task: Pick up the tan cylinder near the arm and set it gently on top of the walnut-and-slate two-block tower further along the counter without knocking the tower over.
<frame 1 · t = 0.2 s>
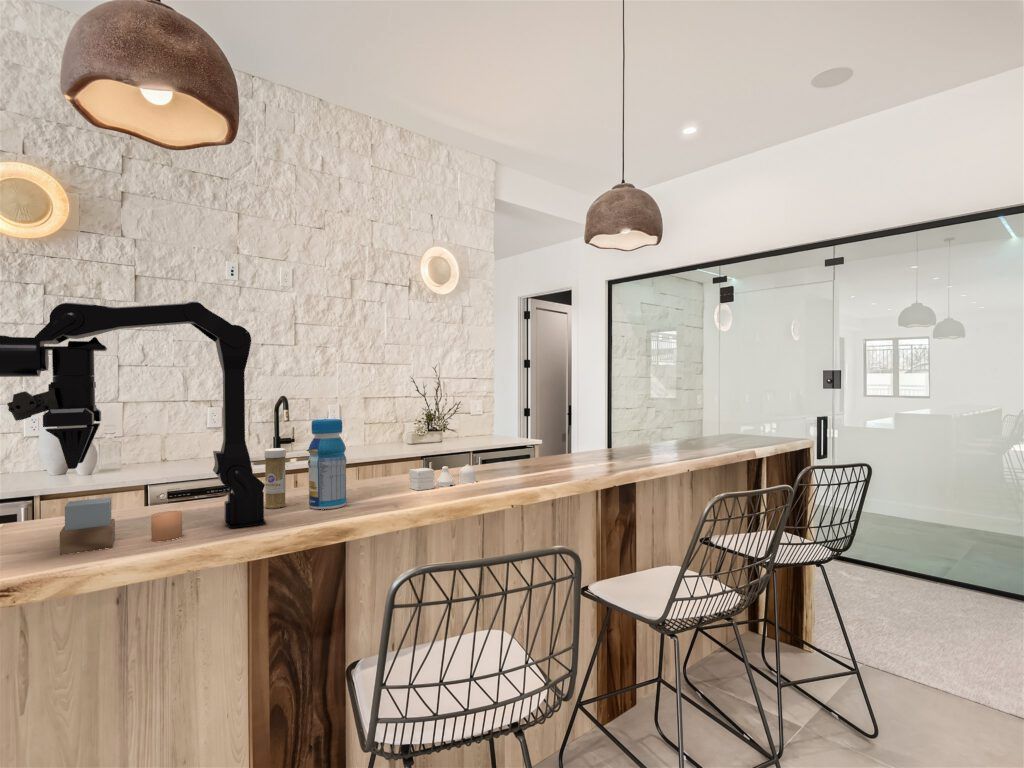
hand: (75, 465, 95), 14 cm above the countertop, tool pointing down, fingers open, 9 cm apart
tan cylinder: (166, 538, 100), on the countertop
tower top: (89, 524, 95), point 4 cm above the countertop, touching tower base
beverage bottle: (327, 507, 125), on the countertop
sprinkles bottle: (275, 507, 126), on the countertop
tower base: (88, 548, 95), on the countertop, touching tower top
container set: (445, 486, 151), on the countertop
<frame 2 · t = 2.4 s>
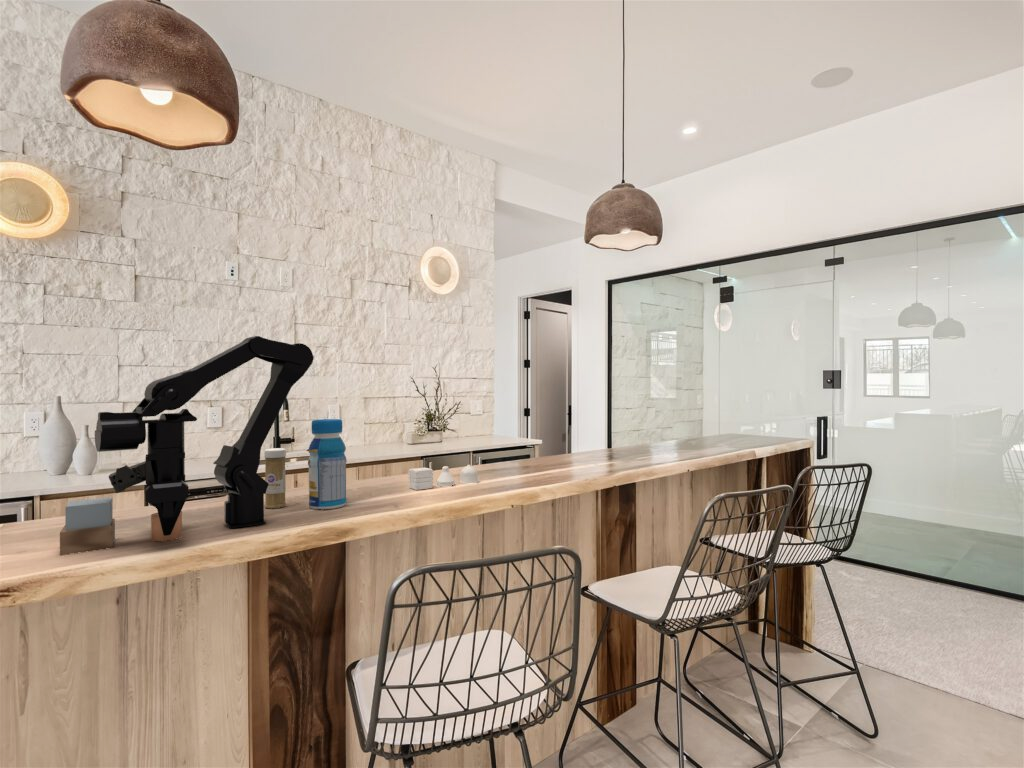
hand: (166, 532, 100), 1 cm above the countertop, tool pointing down, fingers closed on tan cylinder, 5 cm apart
tan cylinder: (166, 537, 100), on the countertop, touching gripper
everything else where it was.
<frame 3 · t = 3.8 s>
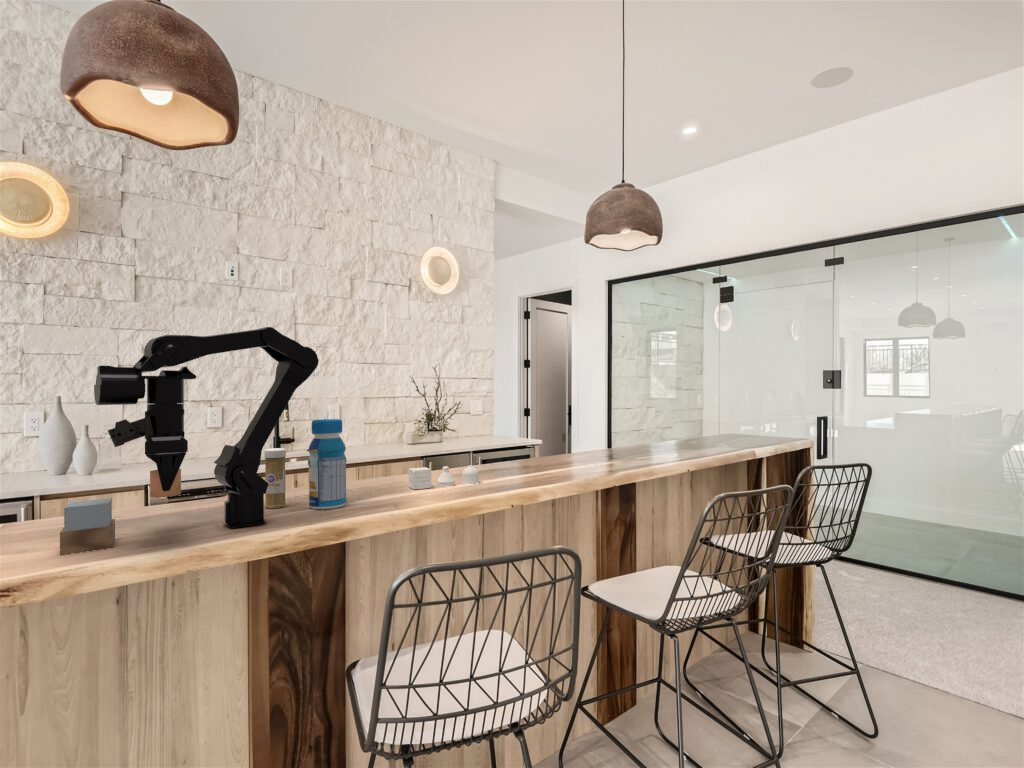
hand: (165, 488, 100), 9 cm above the countertop, tool pointing down, fingers closed on tan cylinder, 5 cm apart
tan cylinder: (165, 494, 100), point 8 cm above the countertop, touching gripper
tower top: (89, 525, 94), point 4 cm above the countertop
tower base: (88, 548, 94), on the countertop
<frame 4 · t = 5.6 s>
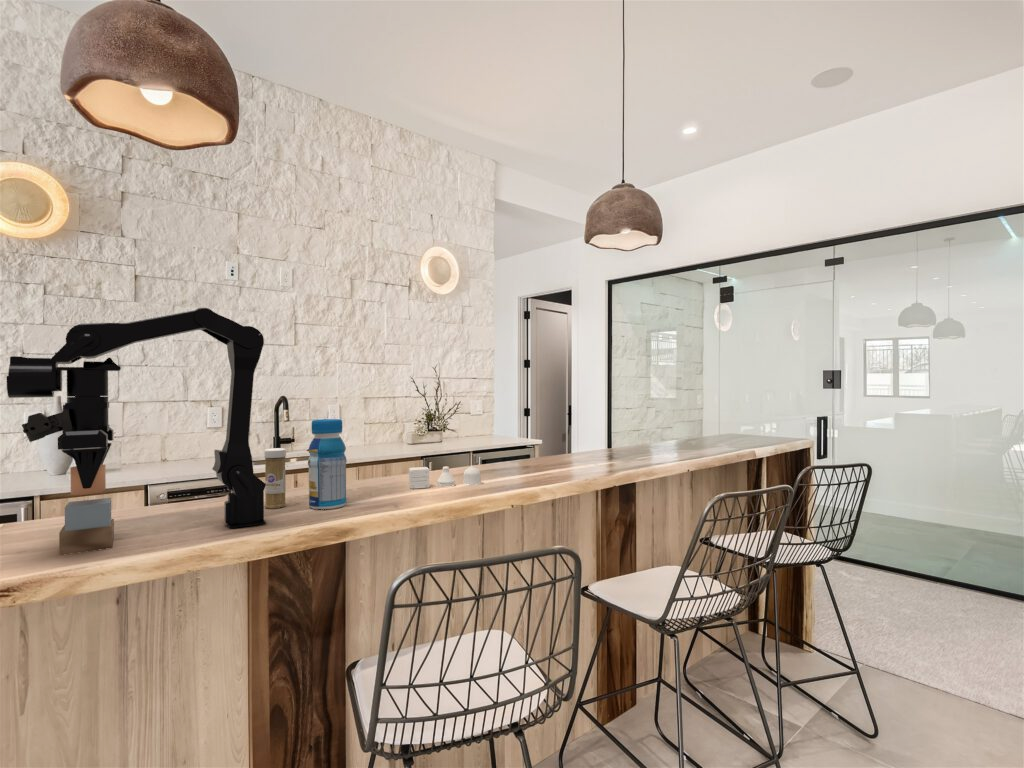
hand: (88, 486, 95), 10 cm above the countertop, tool pointing down, fingers closed on tan cylinder, 5 cm apart
tan cylinder: (88, 492, 95), point 9 cm above the countertop, touching gripper
tower top: (89, 525, 95), point 4 cm above the countertop, touching tower base
tower base: (88, 548, 94), on the countertop, touching tower top
when the fingers open (10 cm above the countertop, at t = 5.6 s): tan cylinder drops 2 cm, resting on tower top.
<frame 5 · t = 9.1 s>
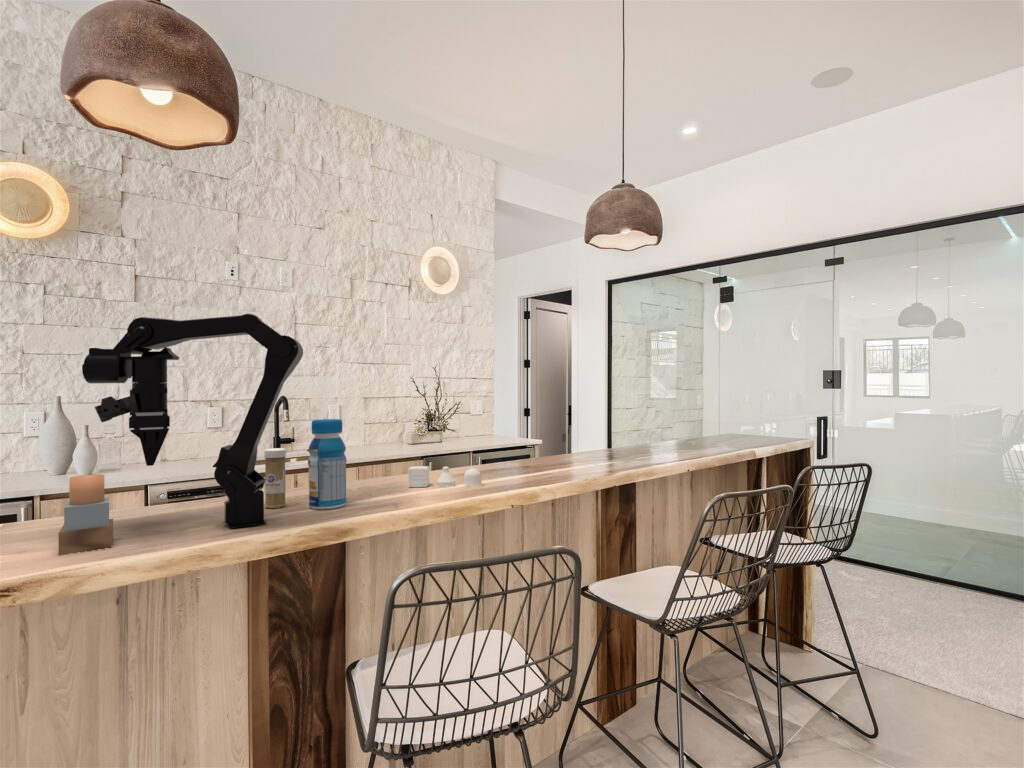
hand: (150, 463, 106), 13 cm above the countertop, tool pointing down, fingers open, 9 cm apart
tan cylinder: (87, 502, 95), point 8 cm above the countertop, touching tower top
tower top: (87, 525, 95), point 4 cm above the countertop, touching tan cylinder, tower base
at the end: tan cylinder 0.1 cm off-centre on the tower top, point 4.0 cm above the tower top's base; tower top 0.1 cm off-centre on the tower base, point 4.0 cm above the tower base's base; tan cylinder tilted 0° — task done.
